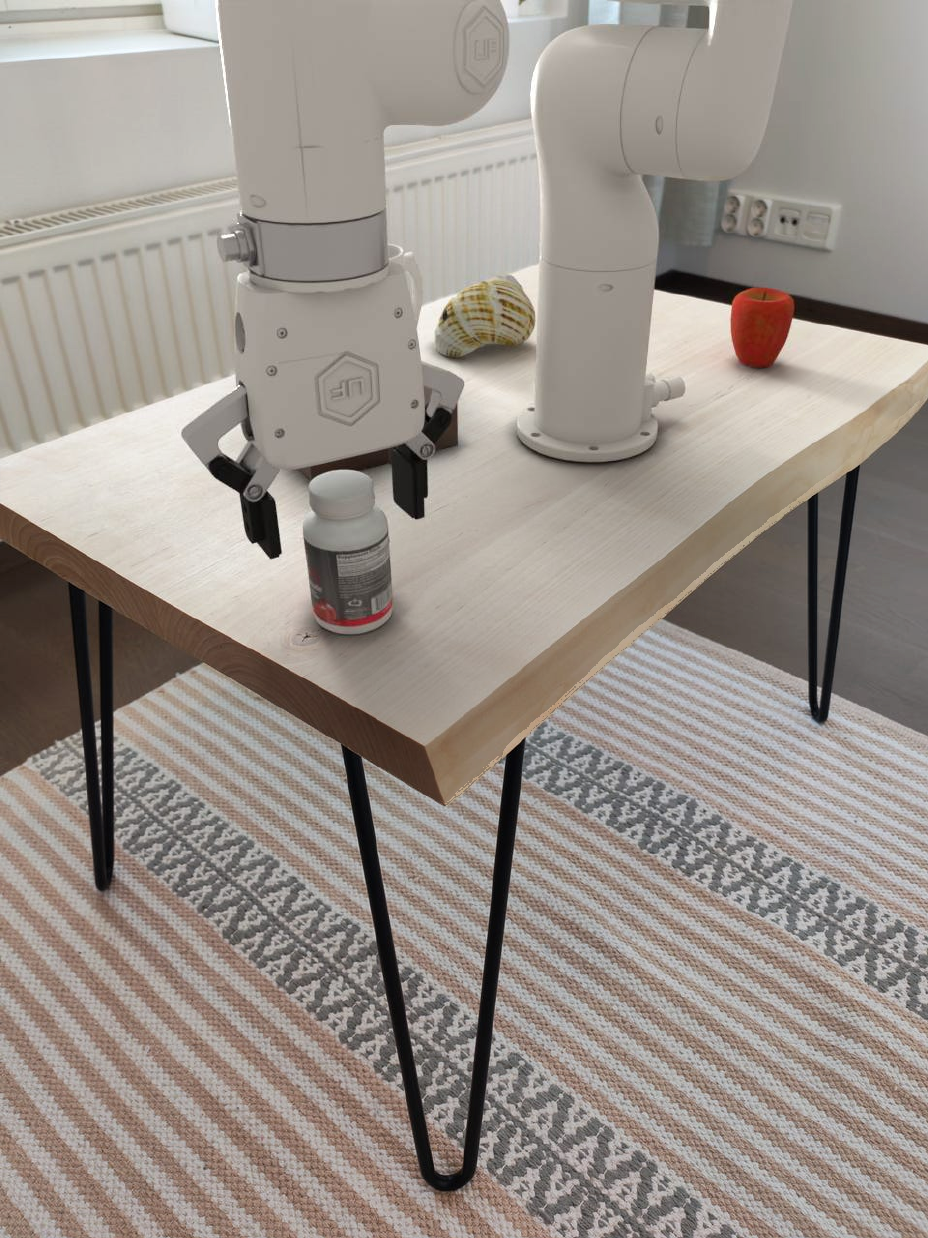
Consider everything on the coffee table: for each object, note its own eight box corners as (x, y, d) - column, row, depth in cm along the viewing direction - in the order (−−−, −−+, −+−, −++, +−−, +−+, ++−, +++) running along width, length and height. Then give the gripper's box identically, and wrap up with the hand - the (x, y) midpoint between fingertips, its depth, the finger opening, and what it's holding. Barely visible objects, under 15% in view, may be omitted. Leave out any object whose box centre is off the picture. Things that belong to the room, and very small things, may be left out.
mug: (372, 389, 97) (363, 265, 90) (330, 371, 101) (319, 251, 94) (445, 362, 103) (443, 244, 96) (403, 347, 107) (398, 232, 100)
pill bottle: (301, 604, 67) (284, 475, 61) (373, 583, 69) (363, 456, 63) (331, 646, 63) (316, 512, 57) (407, 622, 65) (399, 491, 59)
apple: (716, 352, 104) (726, 281, 100) (773, 351, 105) (786, 280, 100) (732, 374, 99) (743, 300, 95) (792, 373, 99) (806, 299, 95)
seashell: (416, 351, 104) (431, 253, 102) (456, 365, 112) (470, 275, 111) (502, 361, 100) (519, 259, 98) (537, 375, 108) (553, 281, 107)
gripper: (176, 286, 45) (227, 594, 55) (493, 240, 53) (489, 520, 62) (134, 250, 51) (187, 537, 61) (427, 213, 58) (432, 475, 68)
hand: (340, 528), depth 61 cm, fingers open, 9 cm apart
